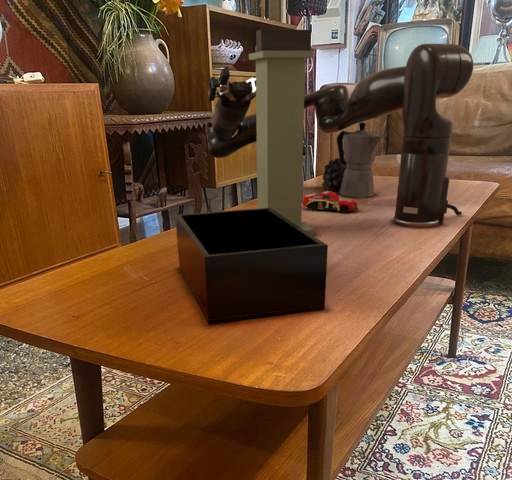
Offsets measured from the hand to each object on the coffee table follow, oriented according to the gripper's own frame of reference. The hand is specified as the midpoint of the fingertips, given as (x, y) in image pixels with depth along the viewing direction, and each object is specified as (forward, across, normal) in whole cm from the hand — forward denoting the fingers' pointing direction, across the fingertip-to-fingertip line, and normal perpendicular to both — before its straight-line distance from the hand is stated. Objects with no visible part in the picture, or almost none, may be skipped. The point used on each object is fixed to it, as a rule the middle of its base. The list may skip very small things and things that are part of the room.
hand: (246, 70), depth 111 cm
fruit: (-28, -29, -19) cm, 45 cm away
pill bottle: (-20, -13, -23) cm, 33 cm away
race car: (-8, -18, -30) cm, 36 cm away
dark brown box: (+16, 0, -6) cm, 17 cm away
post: (+5, 0, -36) cm, 37 cm away
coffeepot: (-22, -32, -22) cm, 45 cm away
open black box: (+31, +16, -51) cm, 61 cm away
